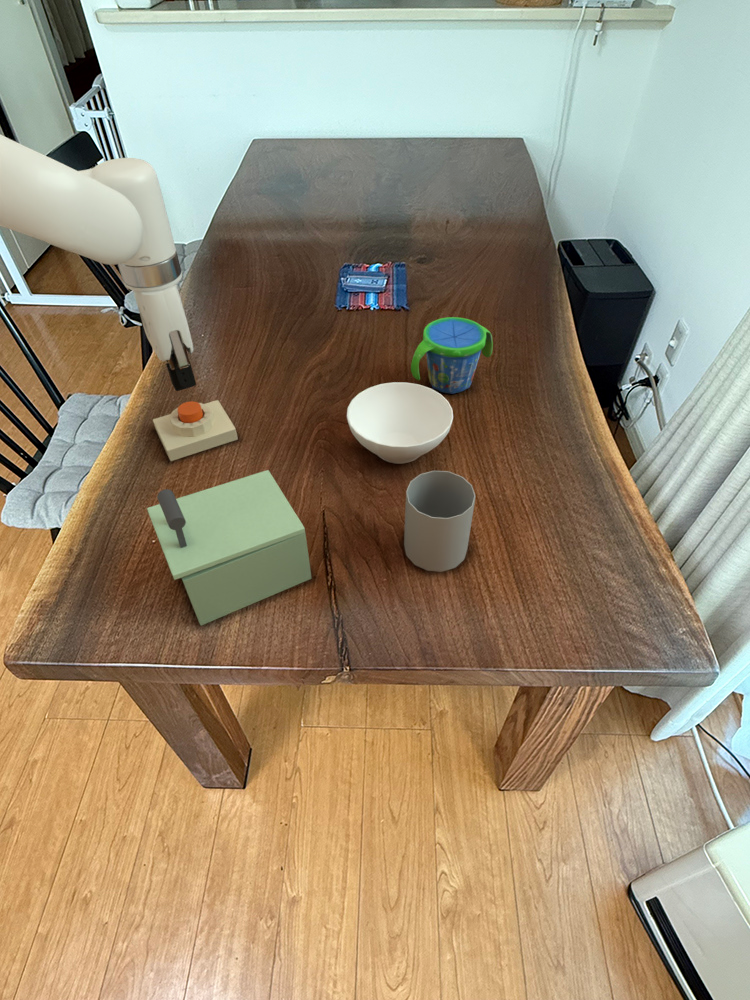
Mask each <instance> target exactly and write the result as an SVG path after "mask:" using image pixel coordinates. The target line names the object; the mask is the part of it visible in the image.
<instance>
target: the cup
mask: <svg viewBox="0 0 750 1000" xmlns="http://www.w3.org/2000/svg"><path fill="white" fill-rule="evenodd" d="M476 497H477V495H476V493H475V489H474V487H473V484H471V483H470V482H469V481H468V480H467V479H466V478H465V477H464V476H462V475H459V474H457V473H454V472H451V471H447V470H431V471H427V472H422V473H420V474H418V475H417V476H416V477H414V478H413V479H412V480H410V481H409V484H408V486H407V488H406V491H405V508H404V509H405V511H404V514H405V515H404V535H403V538H404V539H403V546H404V547H403V548H404V552H405V555H406V557H407V558H408V559H409V561H410V562H412V564H413V565H414V566H416V567H418V568H421V569H423V570H425V571H427V572H441V573H442V572H443V573H444V572H446V571H449V570H453V569H455V568H457V567H458V566H459V565H460V564H461V563H462V562H463V561H464V560H465V559H466V555H467V552H468V547H469V541H470V533H471V527H472V521H473V515H474V509H475V503H476Z"/></svg>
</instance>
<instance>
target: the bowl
mask: <svg viewBox="0 0 750 1000" xmlns="http://www.w3.org/2000/svg"><path fill="white" fill-rule="evenodd" d="M453 411H454V410H453V407H452V405H451V404H450V401H449V400H447V398H446V397H444V396H443V395H442V394H441V393H439V392H438V391H437V390H435V389H434V388H430V387H428V386H425V385H421V384H418V383H412V382H407V381H406V382H402V381H401V382H400V381H399V382H398V381H397V382H396V381H394V382H386V383H380V384H377V385H374V386H370V387H368V388H366V389H364V390H363V391H360V392H359V393H358V394H357V395H356V396H354V397H353V398H352V399H351V400H350V403H349V405H348V406H347V409H346V420H347V423H348V427H349V430H350V432H351V434H352V435H353V437H354V438H355V439H356V440H357V442H358V443H359V444H360V445H361V446H362V447H364V448H365V449H367V450H368V451H369V452H371V453H372V454H375V455H376V456H377V457H379V458H380V459H381V460H383V461H385V462H387V463H392V464H398V465H400V464H401V465H402V464H407V463H411V462H414V461H416V460H417V459H419V458H420V457H422V456H423V455H426V454H427V453H429V452H431V451H432V450H434V449H435V448H437V447H438V446H439V445H440V444H441V443H442V442H443V441H444V440H445V438H447V436H448V434H449V433H450V430H451V427H452V424H453V421H454V412H453Z"/></svg>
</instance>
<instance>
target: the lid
mask: <svg viewBox="0 0 750 1000" xmlns="http://www.w3.org/2000/svg"><path fill="white" fill-rule="evenodd" d="M156 498H157V501H158V503H157V504H155V505H152V506H149V507H146V511H147V514H148V516H149V518H150V521H151V524H152V527H153V529H154V533H155V535H156V536H157V540H158V542H159V544H160V547H161V550H162V552H163V555H164V558H165V560H166V563H167V566H168V568H169V571H170V573H171V575H172V578H173V580H174V581H176V580H179V579H182V578H181V577H184V576H187V575H190V574H192V573H195V572H198V571H201V570H203V569H206V568H209V567H212V566H214V565H217V564H220V563H223V562H225V561H228V560H231V559H234V558H236V557H239V556H242V555H245V554H247V553H250V552H253V551H256V550H258V549H261V548H264V547H267V546H269V545H272V544H275V543H278V542H280V541H283V540H286V539H288V538H291V537H294V536H297V535H299V534H302V533H305V534H306V528H305V526H304V525H303V522H302V521H301V520H300V517H298V514H297V513H296V512H295V510H294V509H293V506H292V505H291V504H290V502H289V500H288V499H287V497H286V496H285V494H284V492H283V491H282V490H281V488H280V486H279V485H278V482H277V481H276V479H275V478H274V477H273V474H271V472H270V470H269V469H266V470H264V471H260V472H256V473H254V474H251V475H247V476H243V477H241V478H238V479H234V480H231V481H228V482H225V483H221V484H219V485H216V486H213V487H209V488H206V489H202V490H200V491H197V492H193V493H191V494H187V495H184V496H180V497H176V496H175V494H174V492H173V490H172V489H168V488H165V489H162V490H160V491H159V492H158V493H157V495H156Z"/></svg>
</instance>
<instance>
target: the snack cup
mask: <svg viewBox="0 0 750 1000" xmlns="http://www.w3.org/2000/svg"><path fill="white" fill-rule="evenodd" d="M493 349H494V342H493V335H492V333H491V331H490V330H489V329H487V327H485V326H483V325H481V324H480V323H478V322H476V321H475V320H472V319H469V318H464V317H458V316H457V317H456V316H450V317H449V316H447V317H441V318H438V319H435V320H432V321H430V322H429V323H428V324H427V325H426V326H425V327H424V328H423V333H422V340H421V342H420V343H419V344H418V345H417V347H416V349H415V351H414V353H413V356H412V360H411V363H410V372H411V375H412V377H413V378H414V379H415V380H416V381H421V376H420V367H419V366H420V362H421V359H422V358H423V357H424V356H425V355H426V364H427V373H428V374H427V375H428V380H429V383H430V385H431V387H432V389H433V390H436V391H439V392H441V393H444V394H450V395H455V394H459V393H462V392H464V391H466V390H468V389H470V388H471V385H472V382H473V380H474V378H475V374H476V371H477V368H478V367H477V366H478V363H479V360H480V357H481V354H482V355H483V357H485V358H490V357H491V356H492V354H493Z"/></svg>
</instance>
